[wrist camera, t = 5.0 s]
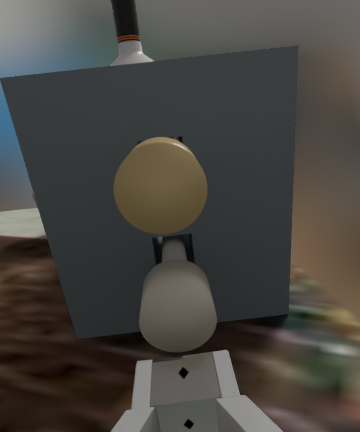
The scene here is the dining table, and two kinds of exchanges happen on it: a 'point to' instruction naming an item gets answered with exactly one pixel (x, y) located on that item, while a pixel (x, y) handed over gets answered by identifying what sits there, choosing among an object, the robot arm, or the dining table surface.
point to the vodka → (127, 34)
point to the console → (204, 153)
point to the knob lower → (176, 301)
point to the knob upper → (160, 186)
